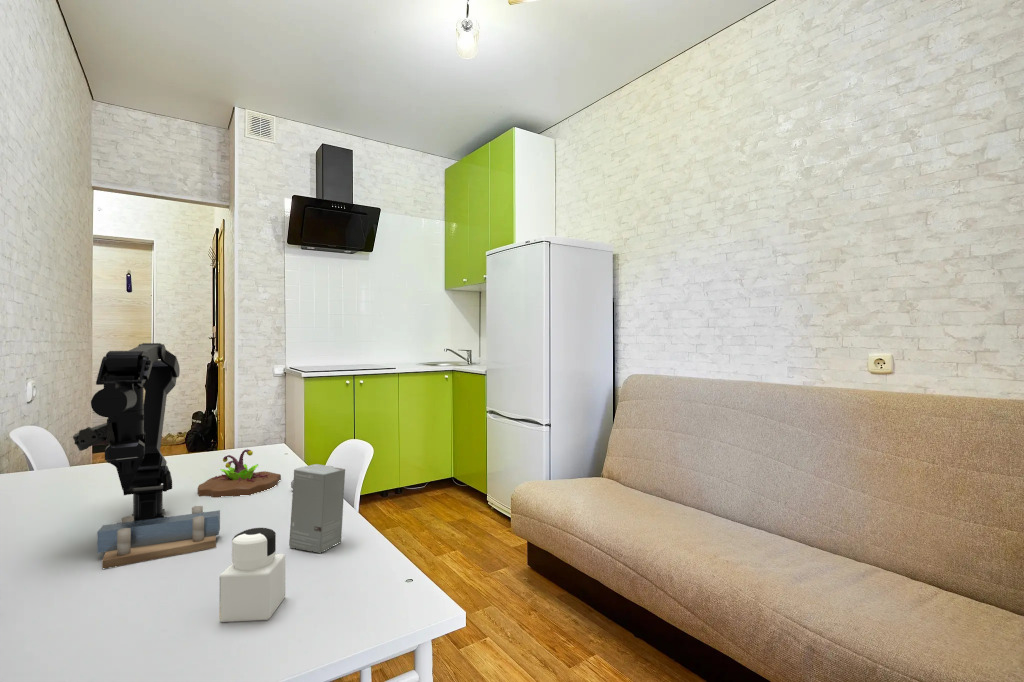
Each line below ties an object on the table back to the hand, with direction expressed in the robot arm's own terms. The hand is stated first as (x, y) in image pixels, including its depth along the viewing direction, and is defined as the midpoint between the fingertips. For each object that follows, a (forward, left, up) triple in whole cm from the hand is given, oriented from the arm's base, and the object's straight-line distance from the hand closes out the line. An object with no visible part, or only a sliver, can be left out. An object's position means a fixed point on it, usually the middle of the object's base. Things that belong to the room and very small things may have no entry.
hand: (126, 484), depth 107 cm
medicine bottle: (+46, +19, -12) cm, 51 cm away
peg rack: (+9, +6, -12) cm, 16 cm away
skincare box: (+25, +33, -12) cm, 43 cm away
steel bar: (+9, +6, -10) cm, 15 cm away
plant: (-32, +24, -12) cm, 42 cm away
